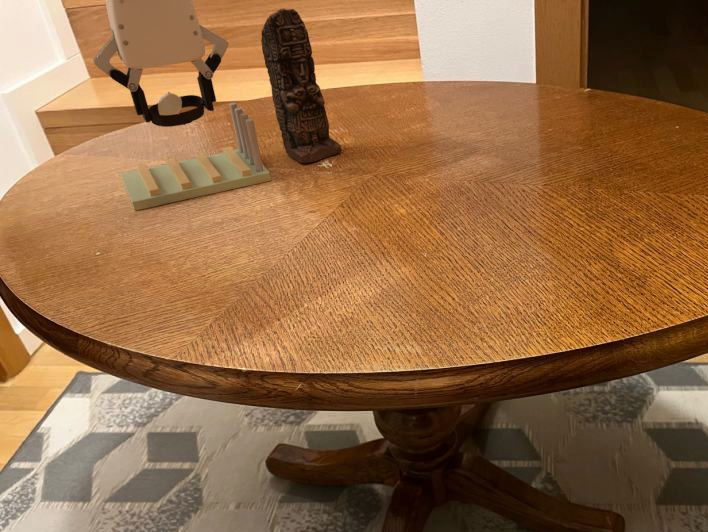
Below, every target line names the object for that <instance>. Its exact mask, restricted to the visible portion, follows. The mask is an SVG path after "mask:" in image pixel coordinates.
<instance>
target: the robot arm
mask: <svg viewBox="0 0 708 532" xmlns="http://www.w3.org/2000/svg"><path fill="white" fill-rule="evenodd" d="M104 3H105V9H106V13H107V17H108V21H109V26H110V29H111V33H112V35H111V36H110V38H109V39H108V40H107V42H105V44H104V45H103V46H102V47H101V49H100V50H99V51H98V52H97V53H96V55H94V57H93V59H92V61H93V64H94V65H95V66H96V67H97V68H98V69H100V70H101V71H102V72H103V73H104V74H106V75H107V76H108V77H110V78H111V79H112V80H113V81H115V82H117V83H118V84H120V86H122V87H124V88H126V89H128V90H129V91H130V93H129V94H130V96H131V99H132V102H133V103H132V104H133V106H134V109H135V112H136V115H137V116H142V118H143V119H144V121H145V123H146V124H147V123H152V122H151V121H152V119H151V115H150V112H149V108H150V107H149V105H148V101H147V98H146V95H145V91H144V89H143V88H142V87H141V85H140V81H141V77H142V74H143V70H144V69H145V70H146V69H151V68H152V69H153V68H158V67H159V68H160V67H166V66H172V65H177V64H183V63H191V64H192V65H193V66H194V67H195V69H196V70H197V71H198V72H197V73H198V75H197V77H196V80H197V83H198V87H199V92H200V97H201V98H202V99H203V100H204V109H205V110H207V111H209V112H213V111H215V109H214V104H213V103H216V102H217V98H216V93H215V89H214V84H213V81H212V79H213V78H214V74H215V72H216V71H217V69H218V67H219V66H220V64H221V63H222V60H223V57H224V55H225V54H226V52H227V49H228V48H229V42H228V41H227V39H225V38H223V37H222V36H220V35H218V34H216V33H215V32H213V31H211V30H210V29H209V28H206V27H205V26H203V25H201V24H200V23H199V19H198V16H197V13H196V9H195V6H194V3H193V0H104ZM204 40H205V41H207V42H209V43H210V44H212V45H213V48H212V51H211V53H210V54H209V55H208V57H207V58H206V60H205V61H204V60H203V58H204V56H205V55H206V45H205V41H204ZM116 53H117V54H118V58H119V59H120V60H121V61H122V63H123V64H124V65H125V67H127V69H126V73H124V72H123V71H121V70H120V69H118V68H116V67H115V66H114V65H113V64H111V62H110V61H111V59H112V58H113V57H114V56H115V54H116Z"/></svg>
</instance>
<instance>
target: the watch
mask: <svg viewBox="0 0 708 532" xmlns="http://www.w3.org/2000/svg"><path fill="white" fill-rule="evenodd" d="M166 92H167V93H165V94H163V95H162V96H161V97H160V99H159V100H158V102H157V103H155V104H153V105H151V106H150V107H148V108H149V112H150V115H151V119H152V121H151V122H150V123H152V124H153V125H155V126H158V127H161V128H164V127H166V128H169V127H170V128H171V127H178V126H185V125H188V124H191V123H193V122H194V121H197V120H199V119H200V118H202V117H203V116H204V114H205V106H204V100H203V99H202V96H201V95H195V94H187V95H180V96H179V95H177V94H175V93H172V92H170V91H166ZM184 108H192V109H189V110H186V111H183V112H182V111H181V110H182V109H184ZM180 111H181V112H180Z"/></svg>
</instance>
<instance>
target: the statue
mask: <svg viewBox="0 0 708 532" xmlns="http://www.w3.org/2000/svg"><path fill="white" fill-rule="evenodd" d="M260 33H261V39H260V43H261V51H262V55H263V59H264V64H265V65H264V66H265V68H266V70H267V71H266V72H267V75H268V77H269V84H270V86H271V97H272V101H273V106H274V108H275V109H274V110H275V111H274V113H275V116H276V121H277V123H278V126H279V130H280V131H281V139H282V145H283V147H284V149H285V153H286V154H287V155H288V156H289V157H290V158H291V159H292V160H295V161H297V162H299V164H310V163H313V162H314V163H315V162H318V161H320V160H321V161H322V160H323V159H326V158H329V157H331V156H335V155H338V154H340V153H341V152H342V145H341V144H340V143H339V142H338V141H336V140H335V139H333V138H332V137H330V122H329V119H328V116H327V111H326V106H325V104H326V102H325V98H324V96H323V93H322V91H321V87H320V86H319V84H318V83H317V76H316V73H315V71H316V68H315V60H314V57H313V56H312V55H313V50H312V45H311V42H310V36H309V31H308V30H307V28H306V24H305V22H304V20H303V19H302V17H301V15H300V13H298V11H297V10H296V9H294V8H289V9H286V8H280V9H277V10H276V11H275V12H273V13H271V14H270V15H269V16H268V17H267V18H266V20H265V22H264V24H263V27H262V29H261V32H260Z"/></svg>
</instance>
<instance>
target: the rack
mask: <svg viewBox="0 0 708 532" xmlns="http://www.w3.org/2000/svg"><path fill="white" fill-rule="evenodd" d="M228 106H229V110H230V114H231V119H232V124H233V129H234V132H235V138H236V142H237V147H238V149H234V148H233V147H232V146H226V147H222V152H219V153H215V154H209V155H206V154H205V152H204V151H203V152H197V153H194V156H195V157H194V158H189V159H185V160H179V161H177V159H176V157H172V158H166V159H165V162H166V163H164V164H160V165H154V166H149V167H148V165H147V164H146V163H141V164H137V165H136V167H137V169H134V170H129V171H125V172H120V173H119V175H120V178H121V181H122V184H123V186H124V189H125V191H126V194H127V196H128V198H129V201H130V202H131V205H132V207H133V210H134V212H135V211H140V210H145V209H149V208H154V207H158V206H163V205H167V204H172V203H177V202H180V201H185V200H190V199H195V198H199V197H203V196H207V195H213V194H217V193H221V192H226V191H231V190H235V189H239V188H244V187H249V186H253V185H257V184H262V183H267V182H271V181H272V176H271V172H270V171H269V169H267V168H266V166H265V165H264V164H263V161H262V155H261V151H260V147H259V146H260V145H259V142H258V137H257V132H256V127H255V121H254V118H249V115H248V113H247V112H243V109H242V108H243V107H238V105H237V103H236V102H230V103H229V104H228Z"/></svg>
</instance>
